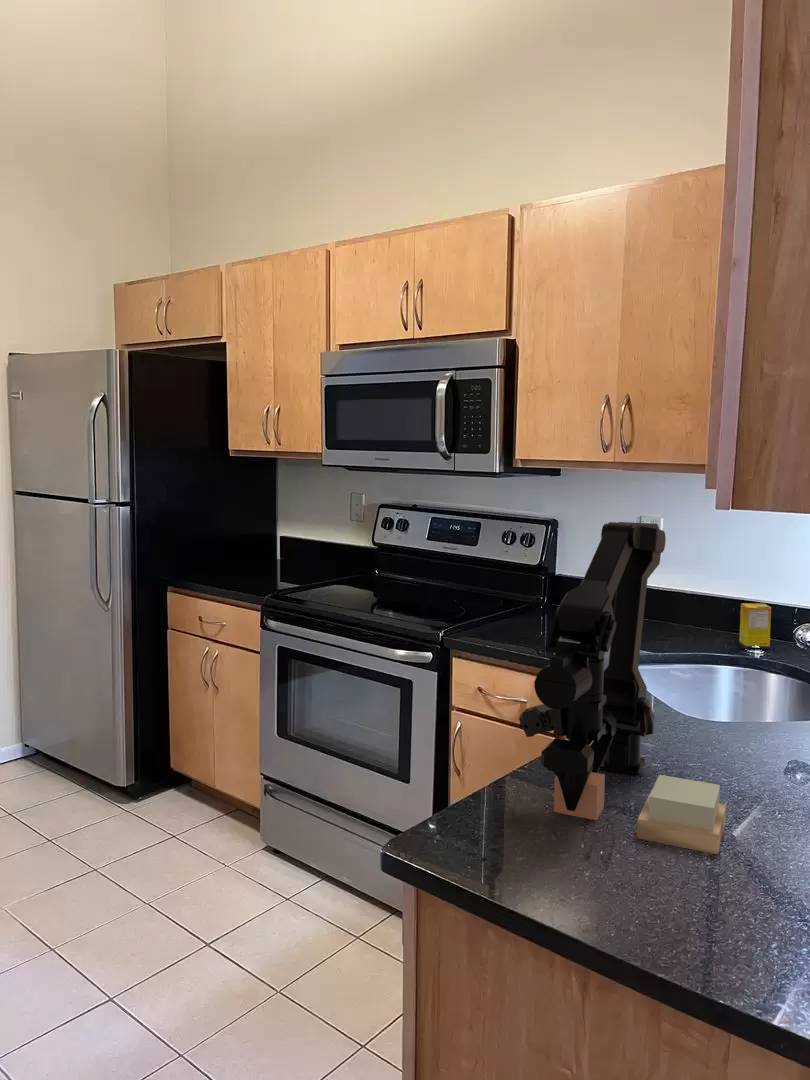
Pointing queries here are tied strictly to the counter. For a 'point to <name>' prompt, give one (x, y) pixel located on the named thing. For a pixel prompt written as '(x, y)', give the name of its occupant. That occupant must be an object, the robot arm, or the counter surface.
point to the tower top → (684, 802)
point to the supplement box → (755, 625)
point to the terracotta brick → (583, 798)
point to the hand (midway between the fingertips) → (579, 797)
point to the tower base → (682, 832)
